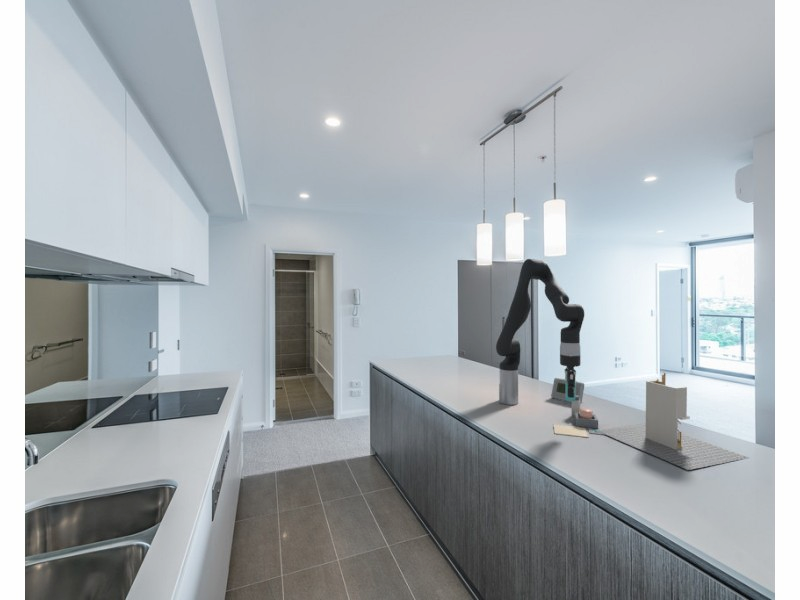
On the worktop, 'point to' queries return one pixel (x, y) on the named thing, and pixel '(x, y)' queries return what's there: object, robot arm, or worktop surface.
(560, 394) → the digital clock
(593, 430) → the card
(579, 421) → the button housing
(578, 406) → the marker grey
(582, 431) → the sketch pad
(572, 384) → the marker teal
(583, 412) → the button
